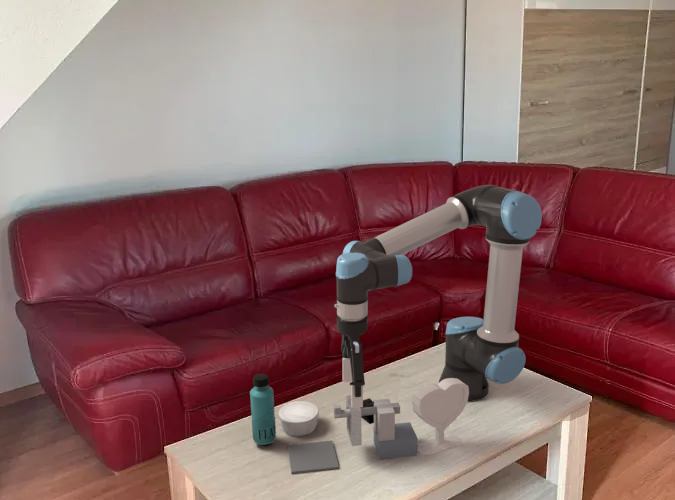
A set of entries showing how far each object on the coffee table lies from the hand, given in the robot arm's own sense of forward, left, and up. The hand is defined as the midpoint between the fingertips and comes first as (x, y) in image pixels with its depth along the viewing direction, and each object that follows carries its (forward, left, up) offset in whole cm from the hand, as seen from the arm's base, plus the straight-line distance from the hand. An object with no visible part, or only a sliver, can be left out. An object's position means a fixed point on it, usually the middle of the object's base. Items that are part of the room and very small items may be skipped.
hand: (352, 393), depth 171 cm
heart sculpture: (-23, 0, -18) cm, 29 cm away
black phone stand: (-8, -18, -18) cm, 27 cm away
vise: (-6, 0, -18) cm, 19 cm away
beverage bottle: (+23, -9, -18) cm, 30 cm away
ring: (0, 0, -13) cm, 13 cm away
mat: (+11, 0, -18) cm, 21 cm away
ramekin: (+13, -15, -18) cm, 27 cm away
